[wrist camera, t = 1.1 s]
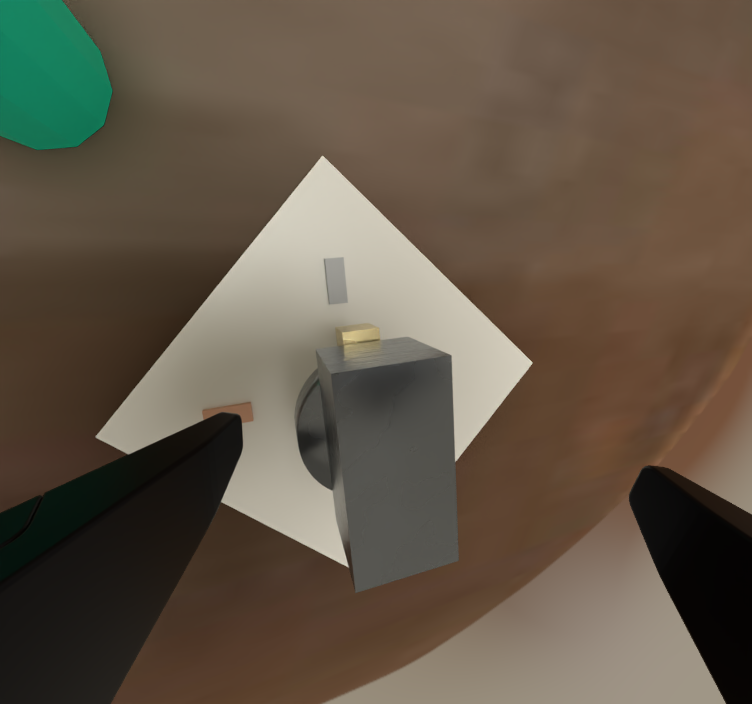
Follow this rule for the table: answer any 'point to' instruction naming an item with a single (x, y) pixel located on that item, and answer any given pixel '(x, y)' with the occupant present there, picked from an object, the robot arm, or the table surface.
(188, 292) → the table surface
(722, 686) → the robot arm
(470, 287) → the table surface
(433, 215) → the table surface
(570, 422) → the table surface
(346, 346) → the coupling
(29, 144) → the candle
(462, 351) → the post plate
